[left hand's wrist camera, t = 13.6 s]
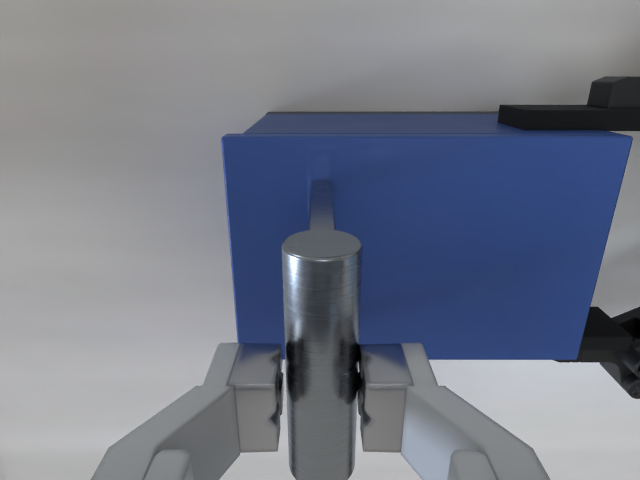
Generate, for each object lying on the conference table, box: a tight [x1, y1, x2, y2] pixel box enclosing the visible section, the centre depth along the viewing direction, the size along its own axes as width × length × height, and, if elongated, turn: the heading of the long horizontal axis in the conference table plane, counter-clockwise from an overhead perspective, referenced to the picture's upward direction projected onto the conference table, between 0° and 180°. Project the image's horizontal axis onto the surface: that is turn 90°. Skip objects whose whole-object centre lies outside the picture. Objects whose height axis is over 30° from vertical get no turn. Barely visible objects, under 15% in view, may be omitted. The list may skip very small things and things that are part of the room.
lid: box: [221, 134, 633, 480], centre depth 14 cm, size 14×9×8 cm, turn 90°
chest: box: [243, 112, 617, 134], centre depth 22 cm, size 14×9×9 cm
